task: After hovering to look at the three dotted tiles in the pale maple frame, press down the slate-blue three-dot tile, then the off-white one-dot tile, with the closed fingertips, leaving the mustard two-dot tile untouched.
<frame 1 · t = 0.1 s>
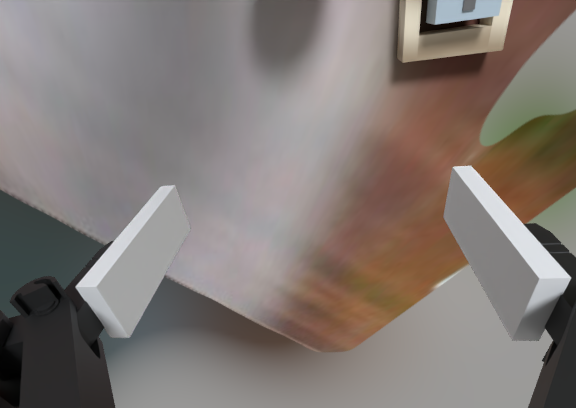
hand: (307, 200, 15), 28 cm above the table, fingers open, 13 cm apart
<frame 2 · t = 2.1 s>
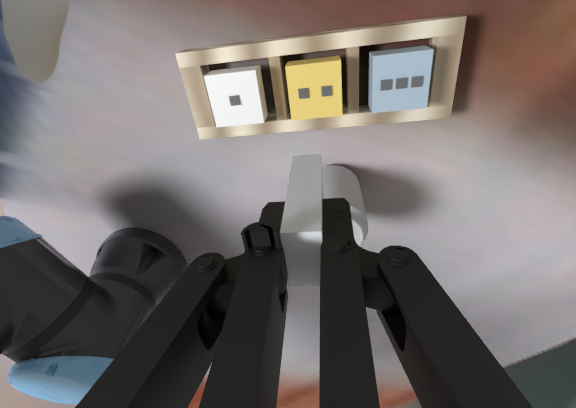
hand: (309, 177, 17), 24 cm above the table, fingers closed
tile 2: (315, 88, 34), point 4 cm above the table, slide at 0.0 cm
tile 1: (237, 96, 35), point 4 cm above the table, slide at 0.0 cm
can: (332, 185, 45), on the table
tile 3: (398, 80, 33), point 4 cm above the table, slide at 0.0 cm
frame: (315, 80, 37), on the table
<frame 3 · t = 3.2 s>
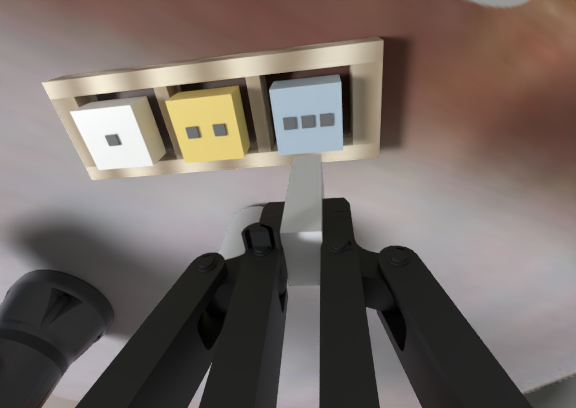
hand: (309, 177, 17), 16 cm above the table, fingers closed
tile 2: (211, 125, 28), point 4 cm above the table, slide at 0.0 cm
tile 1: (121, 134, 29), point 4 cm above the table, slide at 0.0 cm
can: (261, 226, 39), on the table
tile 3: (308, 116, 27), point 4 cm above the table, slide at 0.0 cm
frame: (222, 111, 31), on the table
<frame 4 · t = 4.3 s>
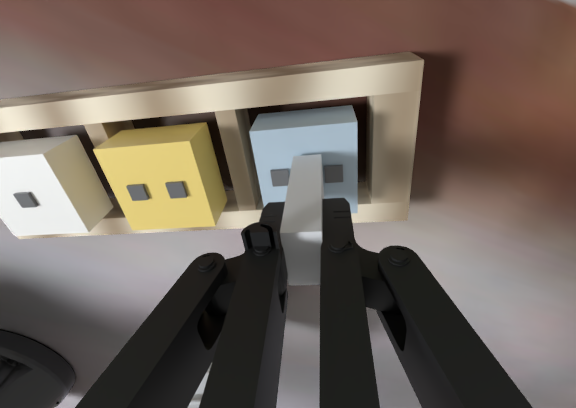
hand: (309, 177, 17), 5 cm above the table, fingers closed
tile 2: (167, 178, 19), point 4 cm above the table, slide at 0.0 cm
tile 1: (43, 187, 21), point 4 cm above the table, slide at 0.0 cm
tile 3: (307, 164, 19), point 4 cm above the table, slide at 0.6 cm, touching gripper
frame: (190, 151, 23), on the table
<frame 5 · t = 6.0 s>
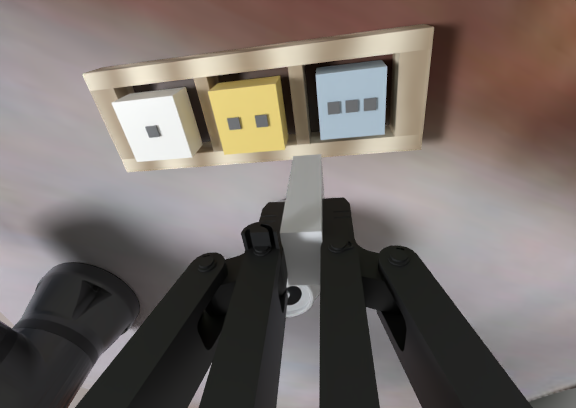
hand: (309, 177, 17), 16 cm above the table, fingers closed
tile 2: (251, 116, 28), point 4 cm above the table, slide at 0.0 cm
tile 1: (160, 125, 29), point 4 cm above the table, slide at 0.0 cm
can: (292, 219, 39), on the table
tile 3: (350, 101, 28), point 3 cm above the table, slide at 1.6 cm
frame: (259, 102, 31), on the table
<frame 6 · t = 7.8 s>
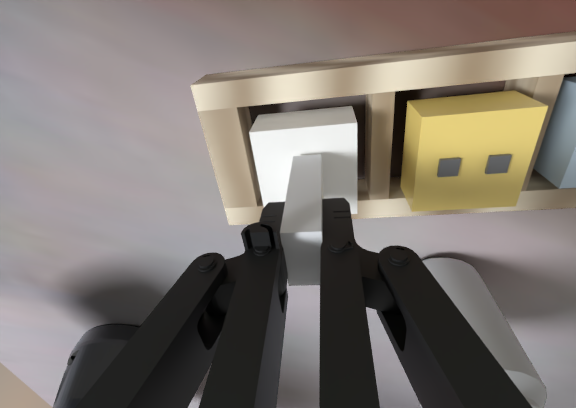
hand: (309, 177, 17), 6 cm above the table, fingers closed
tile 2: (461, 153, 18), point 4 cm above the table, slide at 0.0 cm
tile 1: (307, 164, 19), point 4 cm above the table, slide at 0.1 cm, touching gripper
can: (431, 279, 29), on the table
frame: (438, 128, 21), on the table
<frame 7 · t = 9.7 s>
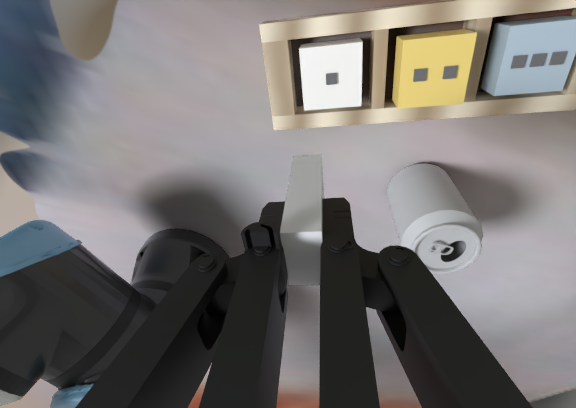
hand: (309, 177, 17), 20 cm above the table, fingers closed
tile 2: (430, 70, 28), point 4 cm above the table, slide at 0.0 cm
tile 1: (331, 75, 30), point 3 cm above the table, slide at 1.6 cm
can: (416, 186, 39), on the table
tile 3: (528, 57, 28), point 3 cm above the table, slide at 1.6 cm
frame: (418, 61, 31), on the table
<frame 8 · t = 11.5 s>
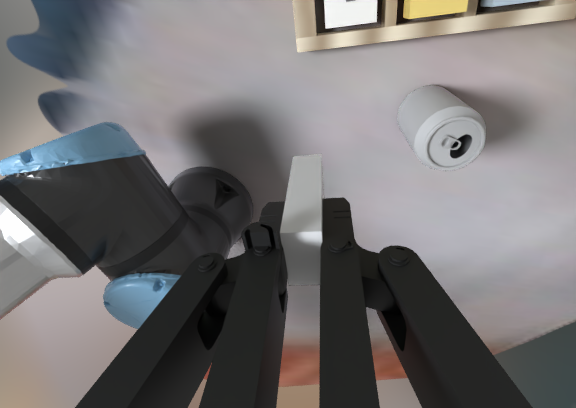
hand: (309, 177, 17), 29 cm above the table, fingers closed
can: (423, 111, 43), on the table
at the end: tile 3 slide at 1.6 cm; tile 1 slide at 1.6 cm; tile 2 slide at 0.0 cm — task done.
